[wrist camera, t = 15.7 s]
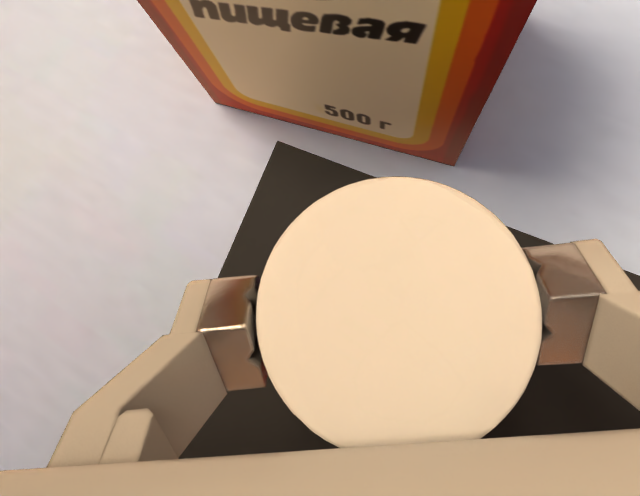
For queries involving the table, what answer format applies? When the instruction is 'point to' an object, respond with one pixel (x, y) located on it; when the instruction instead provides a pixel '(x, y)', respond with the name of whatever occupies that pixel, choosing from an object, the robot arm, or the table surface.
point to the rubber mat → (286, 428)
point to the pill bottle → (398, 315)
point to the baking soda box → (351, 63)
